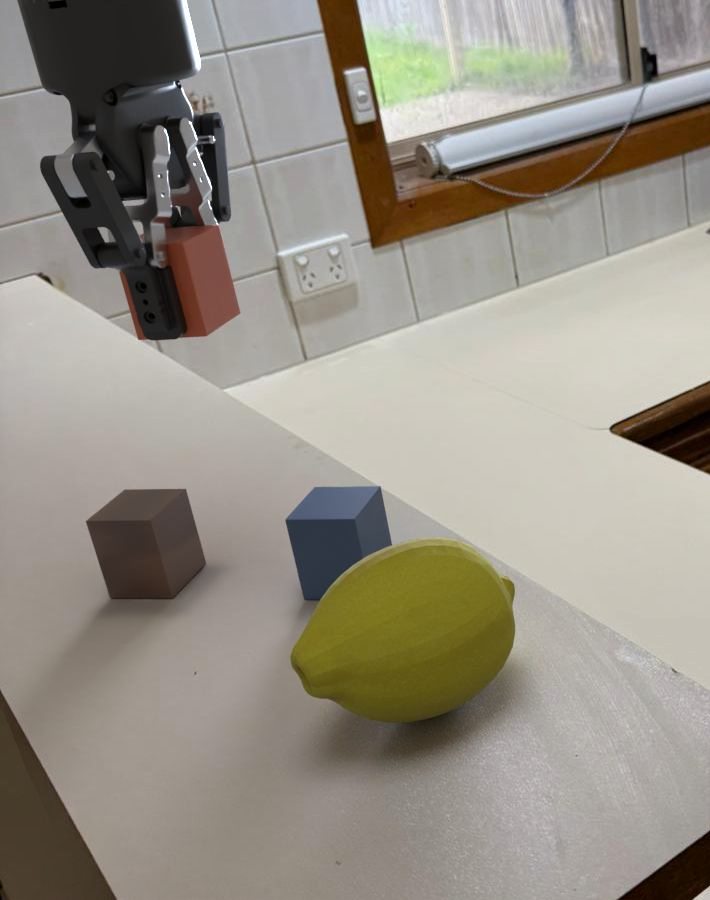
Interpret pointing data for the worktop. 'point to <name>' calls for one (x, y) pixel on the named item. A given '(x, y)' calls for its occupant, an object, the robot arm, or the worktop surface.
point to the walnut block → (147, 543)
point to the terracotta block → (197, 279)
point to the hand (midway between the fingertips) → (188, 322)
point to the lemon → (408, 632)
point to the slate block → (335, 533)
